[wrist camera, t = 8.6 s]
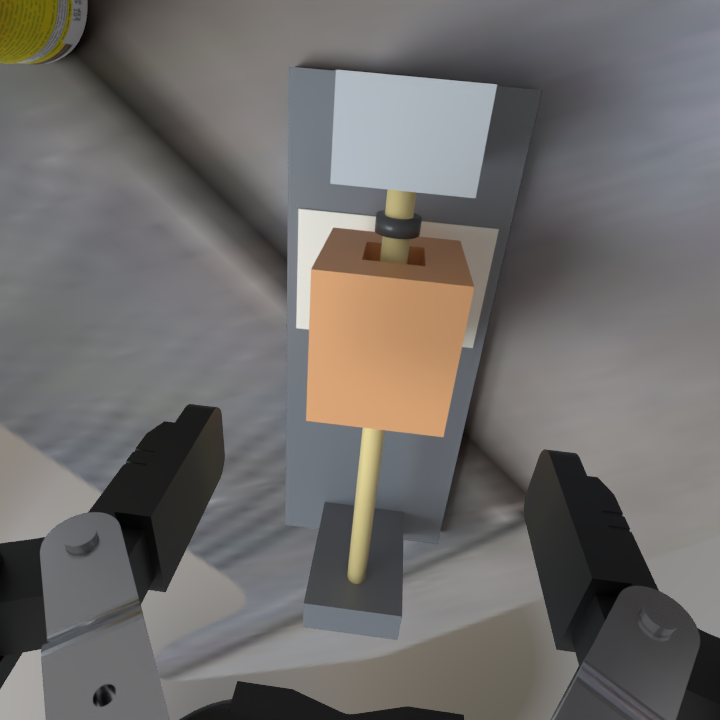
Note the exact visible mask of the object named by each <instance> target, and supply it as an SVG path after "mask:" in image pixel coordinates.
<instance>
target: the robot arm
mask: <svg viewBox="0 0 720 720" xmlns="http://www.w3.org/2000/svg"><path fill="white" fill-rule="evenodd" d="M224 459H225V452H224V439H223V426H222V414H221V410H220V408H217V407H209V406H201V405H193V404H189V405H187V406H186V407H185V409H184V410H183V412H182V413H181V415H180V416H179V418H178V419H177V421H176V422H175V423H173V422H163V423H162V424H160V425H159V426H157V427H156V428H154V429H153V430H151V431H150V432H148V433H147V434H146V435H145V437H144V438H143V439H142V441H141V442H140V443H139V445H138V446H137V447H136V450H135V452H133V453H132V454H131V455H130V457H129V458H128V459H127V461H126V464H124V465H123V466H122V468H121V469H120V470H119V472H118V473H117V474H116V476H115V477H114V478H113V480H112V481H111V482H110V484H109V485H108V486H107V488H106V489H105V491H104V492H103V493H102V495H101V496H100V497H99V499H98V500H97V501H96V503H95V504H94V505H93V507H92V508H91V509H90V511H89V512H88V513H83V514H80V515H76V516H74V517H71V518H69V519H67V520H65V521H63V522H62V523H60V524H58V525H57V526H56V527H55V528H53V529H52V530H51V531H50V533H48V535H47V536H46V537H43V538H38V539H31V540H24V541H16V542H8V543H1V544H0V688H1V687H2V685H3V684H4V682H5V680H6V679H7V677H8V676H9V674H10V672H11V670H12V669H13V667H14V666H15V664H16V662H17V661H18V659H19V658H20V656H21V654H22V653H23V652H28V651H33V650H38V649H41V661H42V674H43V687H44V701H45V714H46V720H170V718H169V714H168V710H167V707H166V703H165V699H164V695H163V691H162V687H161V683H160V679H159V675H158V671H157V667H156V663H155V659H154V655H153V652H152V647H151V643H150V640H149V636H148V632H147V628H146V624H145V620H144V616H143V612H142V609H141V603H142V601H143V599H144V597H145V595H146V593H147V591H148V590H154V591H161V592H166V590H167V588H168V586H169V584H170V582H171V579H172V577H173V575H174V573H175V571H176V569H177V567H178V565H179V563H180V561H181V558H182V556H183V555H184V552H185V550H186V548H187V546H188V544H189V542H190V540H191V538H192V536H193V534H194V532H195V530H196V527H197V525H198V523H199V521H200V519H201V517H202V515H203V513H204V511H205V509H206V507H207V505H208V502H209V500H210V498H211V496H212V494H213V492H214V490H215V488H216V486H217V484H218V482H219V480H220V477H221V474H222V471H223V466H224ZM524 514H525V521H526V525H527V530H528V534H529V538H530V542H531V546H532V550H533V554H534V558H535V563H536V567H537V571H538V575H539V579H540V583H541V587H542V592H543V596H544V600H545V604H546V608H547V612H548V616H549V620H550V624H551V629H552V633H553V637H554V641H555V645H556V649H557V650H564V651H571V652H576V656H577V659H578V663H579V667H578V669H577V671H576V672H575V674H574V676H573V678H572V680H571V682H570V684H569V686H568V687H567V689H566V691H565V693H564V695H563V697H562V699H561V701H560V703H559V704H558V706H557V708H556V710H555V712H554V714H553V716H552V718H551V720H720V638H718V637H715V636H713V635H710V634H708V633H706V632H704V631H702V630H700V629H698V628H697V627H696V624H695V622H694V621H693V619H692V618H691V616H690V615H689V614H688V613H687V611H686V610H685V609H684V608H683V607H682V606H681V605H680V604H678V603H677V602H676V601H675V600H673V599H672V598H670V597H669V596H667V595H666V594H664V593H662V592H660V591H659V590H658V588H657V586H656V584H655V582H654V579H653V578H652V575H651V573H650V571H649V569H648V567H647V564H646V562H645V560H644V558H643V556H642V554H641V551H640V549H639V547H638V545H637V543H636V541H635V539H634V536H633V534H632V532H630V531H629V529H630V528H629V526H628V524H627V521H626V519H625V517H623V516H622V514H623V513H622V511H621V509H620V506H619V504H618V502H617V500H616V498H615V496H614V494H613V493H612V492H611V491H610V490H609V489H608V488H607V487H606V486H605V485H604V484H603V482H602V481H601V480H600V479H599V478H598V477H590V476H587V475H586V472H585V470H584V467H583V465H582V463H581V460H580V458H579V456H578V455H577V454H576V453H569V452H561V451H553V450H543V451H542V452H541V454H540V456H539V459H538V462H537V465H536V467H535V470H534V473H533V476H532V479H531V482H530V485H529V487H528V490H527V493H526V497H525V504H524ZM180 720H464V715H461V714H454V713H448V712H441V711H434V710H427V709H420V708H414V707H400V708H393V709H387V710H380V711H373V712H366V713H359V714H345V713H342V712H339V711H338V710H335V709H333V708H331V707H329V706H327V705H325V704H322V703H320V702H318V701H316V700H314V699H312V698H310V697H307V696H305V695H303V694H301V693H299V692H297V691H295V690H293V689H287V688H280V687H273V686H266V685H260V684H253V683H246V682H240V681H238V682H237V685H236V688H235V691H234V695H233V698H232V699H230V700H224V701H220V702H216V703H213V704H210V705H207V706H205V707H202V708H200V709H198V710H195V711H193V712H192V713H190V714H188V715H186V716H184V717H183V718H181V719H180Z"/></svg>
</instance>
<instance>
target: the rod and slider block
mask: <svg viewBox="0 0 720 720" xmlns="http://www.w3.org/2000/svg"><path fill="white" fill-rule="evenodd" d="M541 93H542V90H536V89H526V88H515V87H504V86H497V84H487V83H476V82H465V81H455V80H444V79H433V78H422V77H411V76H401V75H390V74H379V73H368V72H358V71H347V70H336V71H332V70H321V69H310V68H299V67H289V152H288V268H287V383H286V499H285V525H291V526H299V527H307V528H315V529H319V532H318V537H317V542H316V547H315V552H314V556H313V561H312V566H311V571H310V576H309V581H308V586H307V591H306V595H305V600H304V613H303V627H306V628H314V629H321V630H328V631H336V632H343V633H351V634H358V635H365V636H373V637H380V638H387V639H395V640H397V639H398V634H399V629H400V624H401V619H402V585H403V540H408V541H416V542H424V543H432V544H437V543H438V539H439V535H440V530H441V526H442V522H443V517H444V513H445V509H446V504H447V500H448V496H449V491H450V487H451V483H452V478H453V474H454V470H455V465H456V461H457V457H458V452H459V448H460V444H461V439H462V435H463V431H464V426H465V422H466V418H467V413H468V409H469V405H470V400H471V396H472V392H473V387H474V383H475V379H476V374H477V370H478V366H479V361H480V357H481V353H482V348H483V344H484V340H485V335H486V331H487V327H488V322H489V318H490V314H491V309H492V305H493V301H494V296H495V292H496V288H497V283H498V279H499V275H500V270H501V266H502V262H503V257H504V253H505V249H506V244H507V240H508V236H509V231H510V227H511V223H512V218H513V214H514V210H515V205H516V201H517V197H518V192H519V188H520V184H521V179H522V175H523V171H524V166H525V162H526V158H527V153H528V149H529V145H530V140H531V136H532V132H533V127H534V123H535V119H536V114H537V110H538V106H539V101H540V97H541ZM333 227H334V228H343V229H353V230H362V231H372V232H376V233H377V234H379V235H381V236H383V237H382V246H381V256H380V262H389V263H399V264H407V262H408V254H409V247H410V239H414V238H417V237H429V238H439V239H448V240H458V241H461V245H462V248H463V251H464V254H465V258H466V261H467V264H468V267H469V271H470V274H471V277H472V280H473V284H474V292H473V297H472V302H471V306H470V311H469V316H468V321H467V326H466V330H465V335H464V340H463V345H462V350H461V355H460V359H459V364H458V369H457V374H456V379H455V384H454V388H453V393H452V398H451V403H450V408H449V413H448V417H447V422H446V427H445V432H444V437H437V436H428V435H420V434H412V433H403V432H395V431H387V430H378V429H370V428H362V427H353V426H345V425H337V424H328V423H320V422H312V421H306V408H307V377H308V347H309V317H310V287H311V268H312V267H313V265H314V263H315V261H316V259H317V257H318V255H319V253H320V252H321V250H322V248H323V246H324V244H325V242H326V240H327V238H328V236H329V235H330V233H331V231H332V229H333Z"/></svg>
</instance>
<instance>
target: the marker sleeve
mask: <svg viewBox="0 0 720 720" xmlns="http://www.w3.org/2000/svg"><path fill="white" fill-rule="evenodd" d="M382 237H383V236H381V235H379V234H377V233H376V232H372V231H362V230H353V229H343V228H334V227H333V229H332V231H331V233H330V235H329V236H328V238H327V240H326V242H325V244H324V246H323V248H322V250H321V252H320V253H319V255H318V257H317V259H316V261H315V263H314V265H313V267H312V268H311V287H310V317H309V347H308V377H307V408H306V421H312V422H320V423H328V424H337V425H345V426H353V427H362V428H370V429H378V430H387V431H395V432H403V433H412V434H420V435H428V436H437V437H444V432H445V427H446V422H447V417H448V413H449V408H450V403H451V398H452V393H453V388H454V384H455V379H456V374H457V369H458V364H459V359H460V355H461V350H462V345H463V340H464V335H465V330H466V326H467V321H468V316H469V311H470V306H471V302H472V297H473V292H474V284H473V280H472V277H471V274H470V271H469V267H468V264H467V261H466V258H465V254H464V251H463V248H462V245H461V241H458V240H448V239H439V238H429V237H417V238H414V239H410V247H409V254H408V262H407V264H399V263H389V262H380V256H381V246H382Z"/></svg>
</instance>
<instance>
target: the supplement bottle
mask: <svg viewBox="0 0 720 720" xmlns="http://www.w3.org/2000/svg"><path fill="white" fill-rule="evenodd" d="M87 9H88V1H87V0H0V63H17V64H46V63H51V62H54V61H57V60H59V59H61V58H63V57H64V56H66V55H67V54H69V53H70V52H71V51H72V50H73V49H74V48H75V46H76V45H77V44H78V42H79V40H80V38H81V36H82V34H83V31H84V28H85V25H86V19H87Z"/></svg>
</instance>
